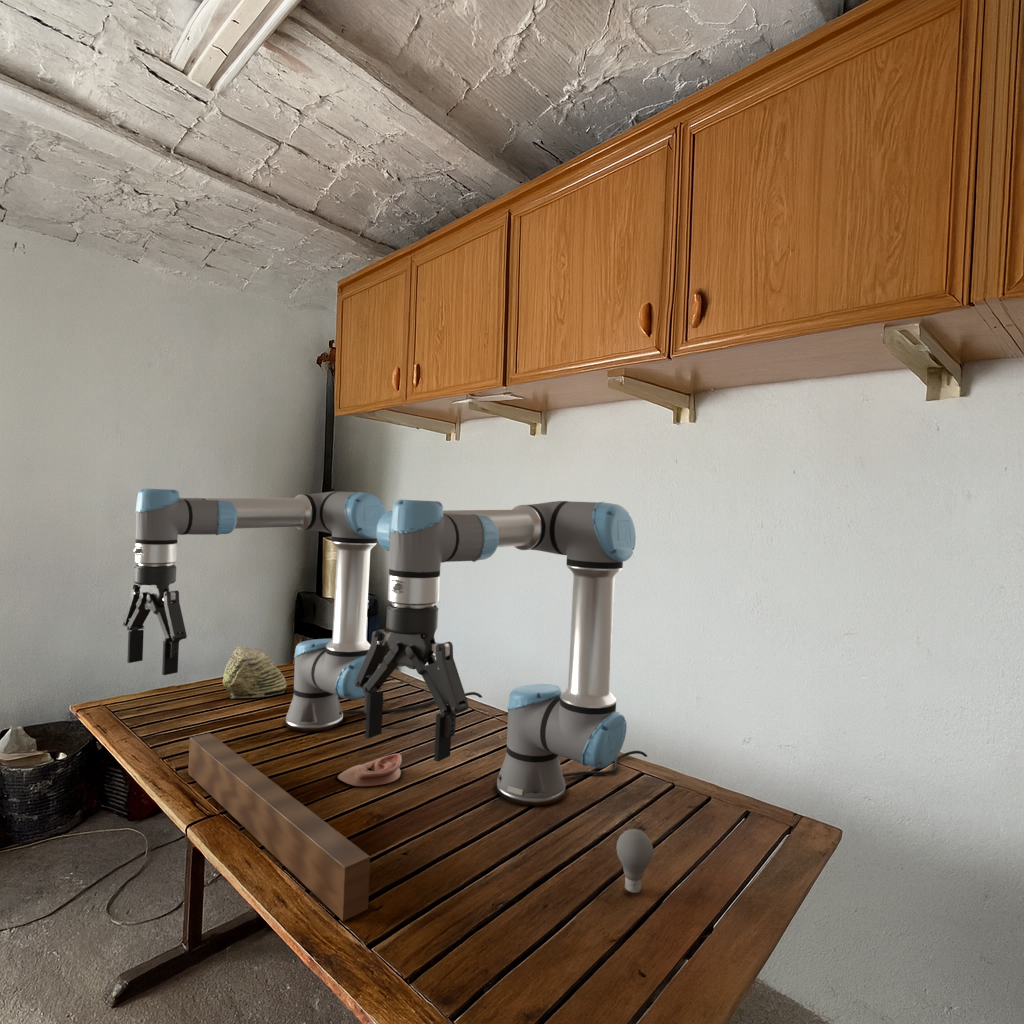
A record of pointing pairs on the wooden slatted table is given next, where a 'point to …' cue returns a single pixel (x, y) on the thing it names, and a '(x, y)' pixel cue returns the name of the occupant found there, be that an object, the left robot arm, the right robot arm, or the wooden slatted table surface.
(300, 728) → the left robot arm
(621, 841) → the light bulb
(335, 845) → the bar
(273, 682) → the fossil
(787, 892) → the wooden slatted table surface
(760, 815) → the wooden slatted table surface
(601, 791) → the wooden slatted table surface
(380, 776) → the anatomical model
